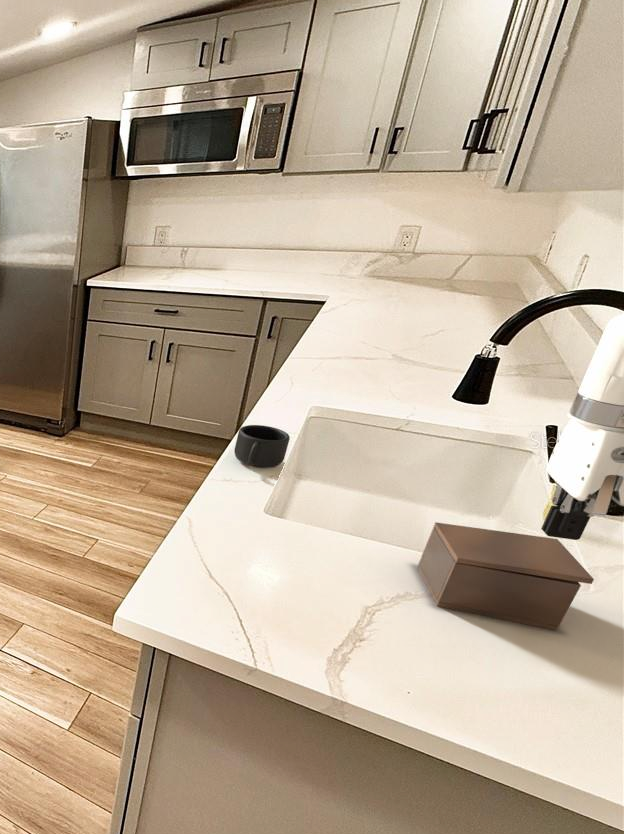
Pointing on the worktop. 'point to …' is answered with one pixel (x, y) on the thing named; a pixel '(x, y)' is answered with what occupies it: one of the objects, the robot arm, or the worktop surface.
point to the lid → (511, 552)
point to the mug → (261, 446)
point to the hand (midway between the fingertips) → (559, 534)
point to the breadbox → (494, 589)
